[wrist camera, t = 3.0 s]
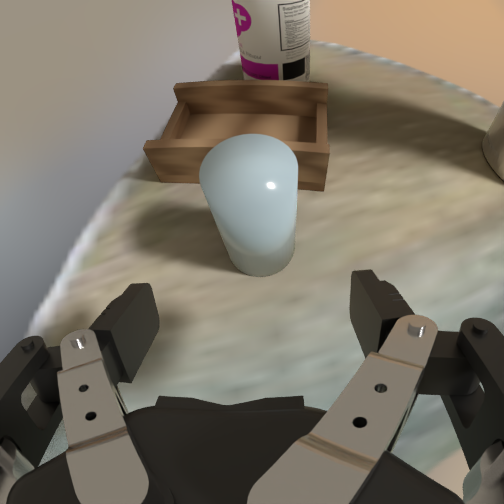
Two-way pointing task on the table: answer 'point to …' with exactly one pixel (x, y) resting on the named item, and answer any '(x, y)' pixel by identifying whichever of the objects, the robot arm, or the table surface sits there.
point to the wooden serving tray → (244, 125)
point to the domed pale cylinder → (253, 200)
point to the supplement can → (274, 39)
